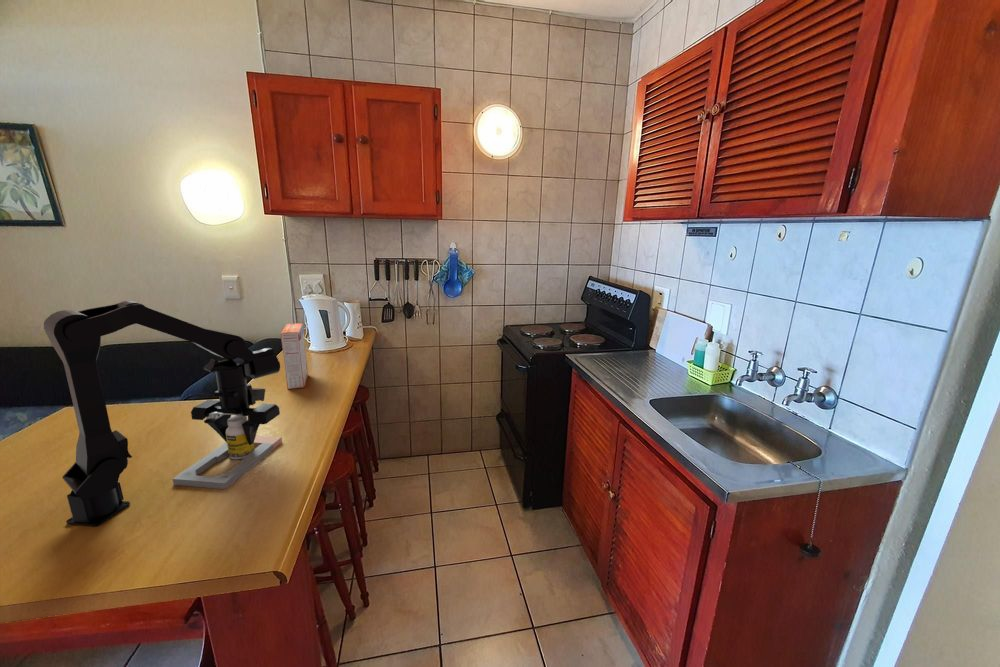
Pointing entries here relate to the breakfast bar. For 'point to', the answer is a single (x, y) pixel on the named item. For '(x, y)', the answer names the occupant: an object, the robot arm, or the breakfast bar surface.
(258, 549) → the breakfast bar surface
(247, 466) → the keyhole board
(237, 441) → the supplement bottle
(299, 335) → the cracker box
